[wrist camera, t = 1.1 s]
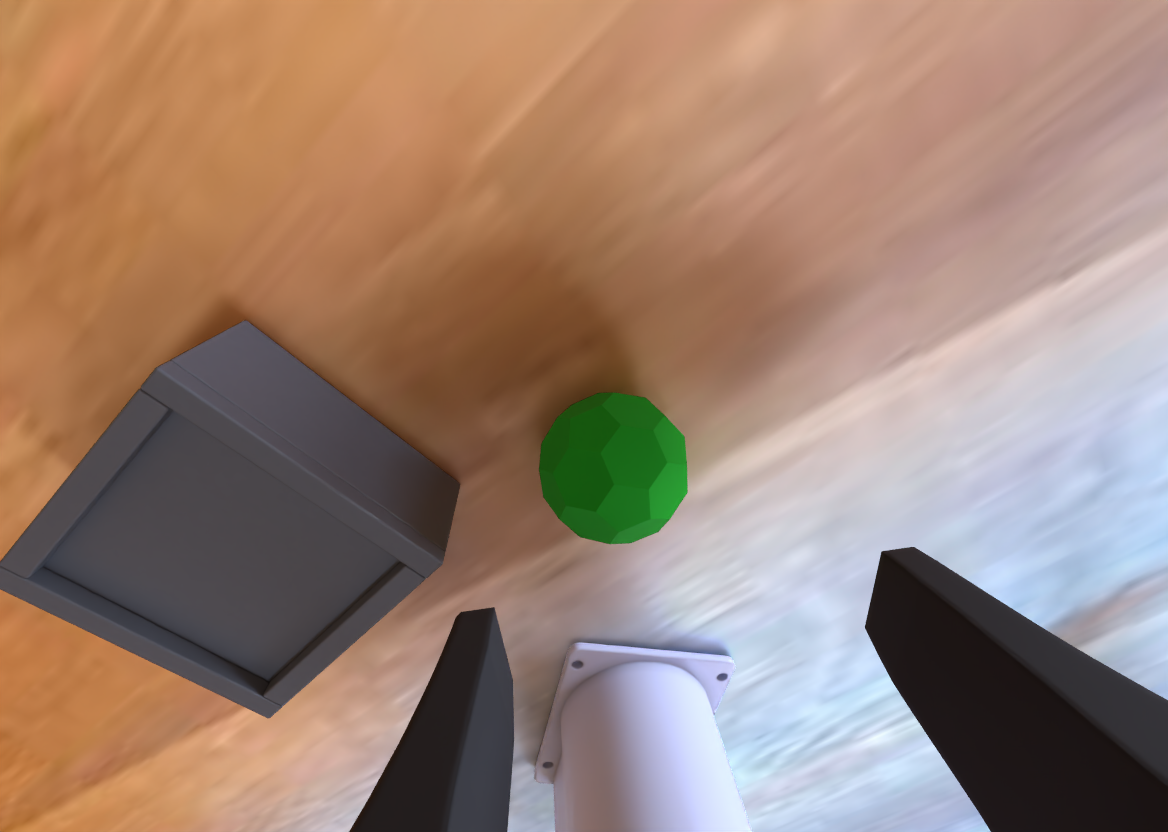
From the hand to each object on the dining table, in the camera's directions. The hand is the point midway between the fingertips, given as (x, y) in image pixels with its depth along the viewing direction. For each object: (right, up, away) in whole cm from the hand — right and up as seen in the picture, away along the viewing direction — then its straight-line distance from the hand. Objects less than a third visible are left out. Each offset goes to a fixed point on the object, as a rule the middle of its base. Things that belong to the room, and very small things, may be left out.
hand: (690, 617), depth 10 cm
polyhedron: (-1, +3, +10) cm, 11 cm away
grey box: (-13, +1, +10) cm, 16 cm away
